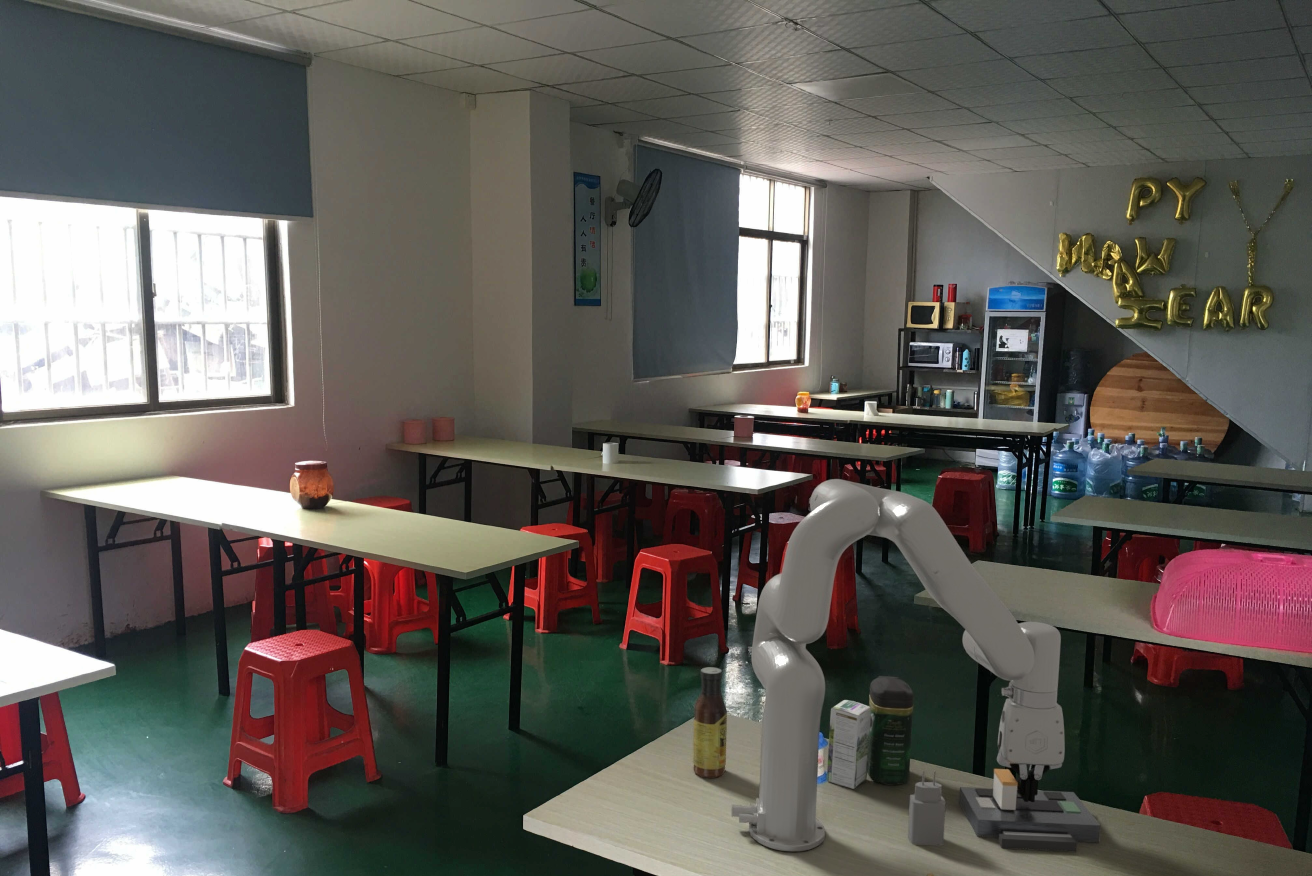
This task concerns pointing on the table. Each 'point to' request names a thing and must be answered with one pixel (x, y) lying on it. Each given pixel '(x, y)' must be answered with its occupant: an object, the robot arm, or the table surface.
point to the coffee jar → (890, 730)
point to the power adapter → (927, 814)
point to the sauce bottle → (710, 726)
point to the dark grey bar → (1037, 841)
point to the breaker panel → (1029, 815)
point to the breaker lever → (1005, 789)
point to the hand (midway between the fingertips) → (1026, 797)
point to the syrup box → (848, 744)
